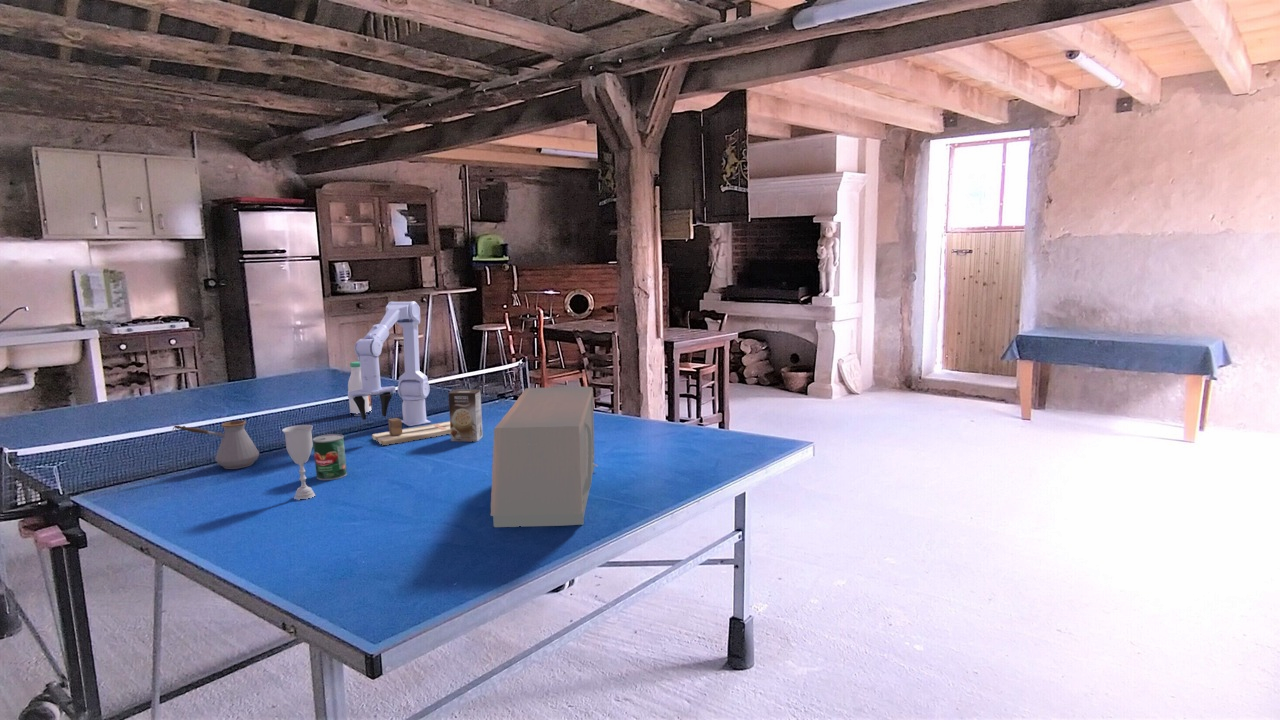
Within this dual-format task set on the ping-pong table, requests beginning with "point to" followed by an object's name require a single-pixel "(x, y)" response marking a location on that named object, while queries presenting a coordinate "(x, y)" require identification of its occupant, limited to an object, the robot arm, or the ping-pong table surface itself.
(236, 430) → the coffee pot
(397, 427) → the fader knob
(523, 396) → the vintage radio
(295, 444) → the chalice
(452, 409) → the coffee box
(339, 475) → the canned tomato
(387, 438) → the fader panel
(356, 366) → the milk bottle
